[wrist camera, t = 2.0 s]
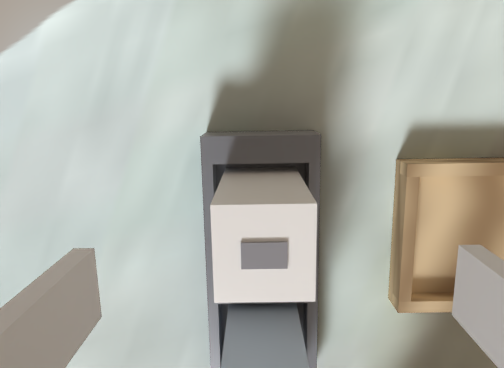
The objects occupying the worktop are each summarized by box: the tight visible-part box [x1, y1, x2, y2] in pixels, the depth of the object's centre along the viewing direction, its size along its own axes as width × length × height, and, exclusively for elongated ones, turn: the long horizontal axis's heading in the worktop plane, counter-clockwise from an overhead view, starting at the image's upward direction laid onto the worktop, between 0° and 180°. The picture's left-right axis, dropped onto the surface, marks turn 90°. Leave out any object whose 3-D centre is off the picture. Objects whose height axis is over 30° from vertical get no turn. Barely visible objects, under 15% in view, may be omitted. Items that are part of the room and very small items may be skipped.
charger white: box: [210, 167, 317, 303], centre depth 22 cm, size 4×4×9 cm
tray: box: [388, 158, 504, 313], centre depth 26 cm, size 10×10×2 cm
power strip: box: [200, 130, 321, 368], centre depth 27 cm, size 26×7×4 cm, turn 1°
